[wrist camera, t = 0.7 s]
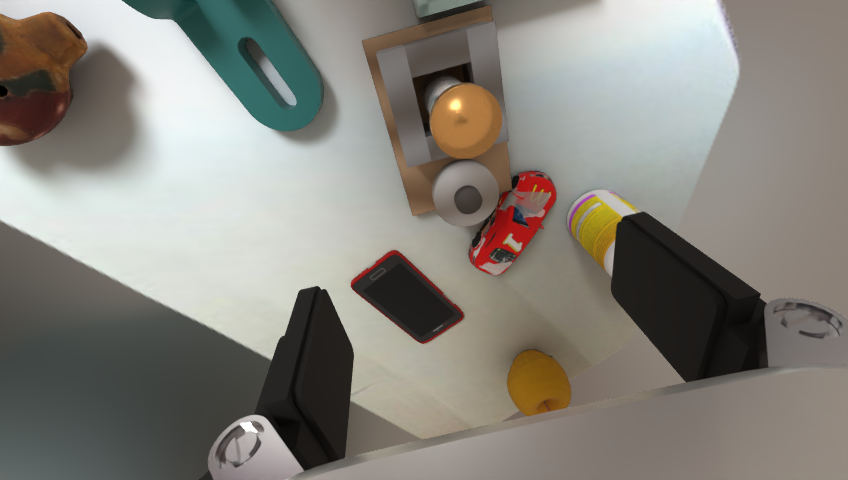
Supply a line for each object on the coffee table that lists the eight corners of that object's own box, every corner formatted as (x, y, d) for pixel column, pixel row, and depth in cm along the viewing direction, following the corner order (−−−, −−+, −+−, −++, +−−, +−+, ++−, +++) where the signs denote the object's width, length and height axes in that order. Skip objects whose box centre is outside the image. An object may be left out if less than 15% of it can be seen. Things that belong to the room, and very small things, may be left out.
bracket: (112, -76, 26) (18, -111, 19) (181, -137, 25) (107, -196, 18) (281, 138, 35) (257, 165, 28) (338, 101, 34) (327, 120, 27)
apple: (487, 367, 55) (504, 421, 48) (522, 331, 52) (546, 383, 44) (528, 382, 58) (550, 435, 51) (564, 349, 55) (593, 401, 47)
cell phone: (394, 245, 43) (395, 250, 42) (465, 312, 49) (466, 317, 48) (348, 281, 45) (347, 286, 44) (422, 341, 51) (422, 346, 50)
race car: (521, 159, 39) (535, 172, 35) (559, 180, 40) (576, 194, 37) (459, 253, 44) (465, 272, 41) (494, 268, 46) (504, 287, 42)
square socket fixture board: (362, 40, 31) (357, 44, 25) (486, 5, 31) (513, 0, 24) (411, 209, 40) (417, 245, 34) (508, 184, 40) (532, 215, 33)
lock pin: (410, 72, 31) (424, 96, 21) (458, 59, 31) (497, 76, 21) (421, 122, 34) (439, 166, 23) (467, 110, 34) (506, 148, 23)
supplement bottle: (560, 239, 44) (619, 310, 33) (569, 190, 41) (638, 251, 30) (612, 234, 45) (688, 303, 34) (625, 184, 41) (714, 243, 30)
